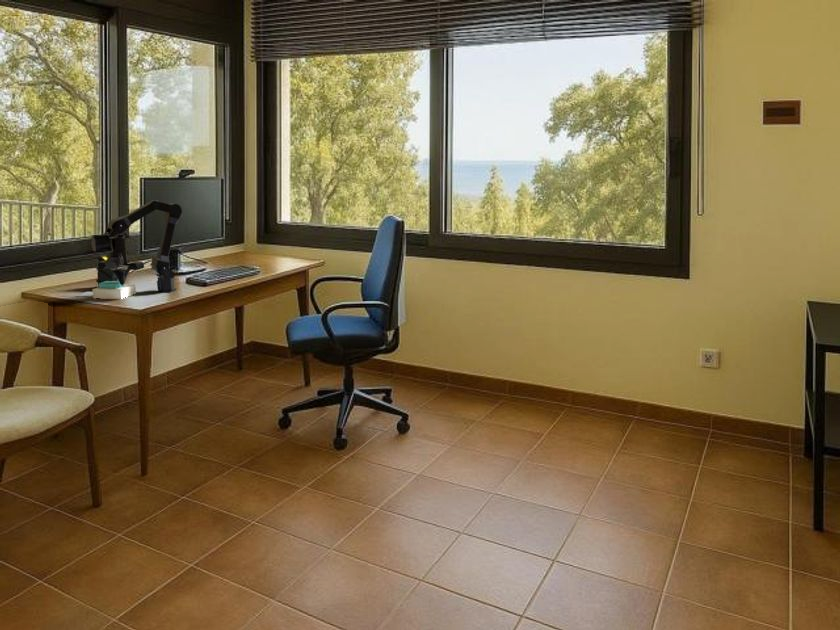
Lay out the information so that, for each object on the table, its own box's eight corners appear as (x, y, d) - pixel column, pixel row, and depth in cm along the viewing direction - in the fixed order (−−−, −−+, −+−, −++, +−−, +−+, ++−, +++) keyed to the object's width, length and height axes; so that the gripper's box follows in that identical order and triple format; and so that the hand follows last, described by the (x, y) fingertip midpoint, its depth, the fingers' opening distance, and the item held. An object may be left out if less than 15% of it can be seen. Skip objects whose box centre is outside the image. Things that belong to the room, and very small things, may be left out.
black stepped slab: (99, 281, 346) (105, 254, 339) (117, 296, 341) (123, 268, 335) (92, 283, 343) (98, 255, 336) (110, 298, 338) (116, 270, 332)
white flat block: (136, 293, 328) (135, 284, 327) (121, 299, 316) (120, 290, 315) (109, 292, 330) (108, 283, 329) (93, 298, 318) (92, 289, 317)
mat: (107, 292, 329) (107, 292, 329) (96, 297, 321) (96, 296, 321) (87, 292, 331) (87, 291, 331) (74, 296, 322) (74, 295, 322)
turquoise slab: (123, 286, 324) (123, 281, 324) (116, 288, 318) (115, 284, 318) (106, 285, 325) (106, 281, 325) (98, 288, 319) (98, 283, 319)
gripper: (87, 251, 311) (91, 288, 314) (129, 252, 308) (132, 289, 311) (103, 247, 321) (106, 283, 325) (143, 248, 318) (146, 284, 322)
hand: (122, 285), depth 321 cm, fingers closed
